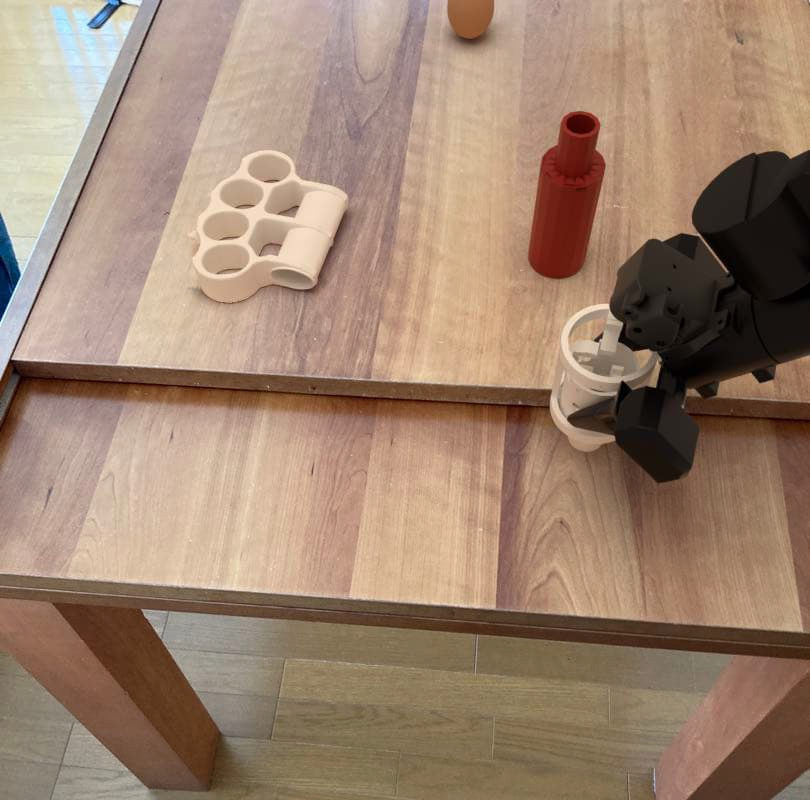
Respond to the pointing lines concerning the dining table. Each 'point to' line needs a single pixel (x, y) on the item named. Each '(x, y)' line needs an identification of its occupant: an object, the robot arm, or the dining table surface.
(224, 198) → the knuckle duster
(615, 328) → the cream cylindrical cage part
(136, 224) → the dining table surface
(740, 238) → the robot arm
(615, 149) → the dining table surface
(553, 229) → the sauce bottle
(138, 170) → the dining table surface
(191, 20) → the dining table surface
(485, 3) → the egg
